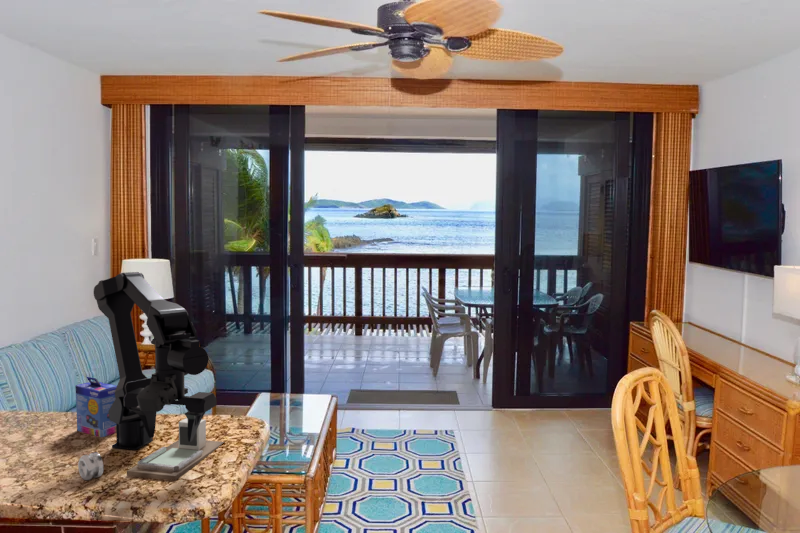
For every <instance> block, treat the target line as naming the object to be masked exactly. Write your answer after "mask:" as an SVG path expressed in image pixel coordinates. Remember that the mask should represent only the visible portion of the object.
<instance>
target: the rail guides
mask: <svg viewBox="0 0 800 533" xmlns="http://www.w3.org/2000/svg"><path fill="white" fill-rule="evenodd" d="M166 447H167V446H162V447H160V448H159V449H157V450H155V451H154V452H153V451H152V452H151V453H150V454H148V455H146V457H144V458H141V459H140V460H139V461H137V465H138V467H139V468H141V469H150V470H160V471H170V472H174V471H180V470H181V469H183V468H184V467H186V466H187V465H189V464H190V463H191V462H193V461H194V460H196V459H197V458H199V457H200V456H202V450H199V451H197V452H196V453H194V454H193V455H191V456H190V457H188V458H187V459H185V460H184V461H182V462H181V463H179V464H178V465H176V466H175V465H165V464H155V463H148V462H150V461H152V460H153V459H155V458H157V457H158V456H160V455H162V454H163V453H165V452H166Z"/></svg>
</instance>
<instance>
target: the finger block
mask: <svg viewBox="0 0 800 533" xmlns="http://www.w3.org/2000/svg"><path fill="white" fill-rule="evenodd" d="M206 420H207V419H203V418H202V420H201V422H200V424H199V426H198V428H197V431H196V433H195V436H194V438H193V440H192V441H191V442H188V419H187V417H185V418H183V419H182V420H180V421H178V440H179V448H183V449H193V450H200V449H201V448H203V447H204V446H206V440H207V421H206Z"/></svg>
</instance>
